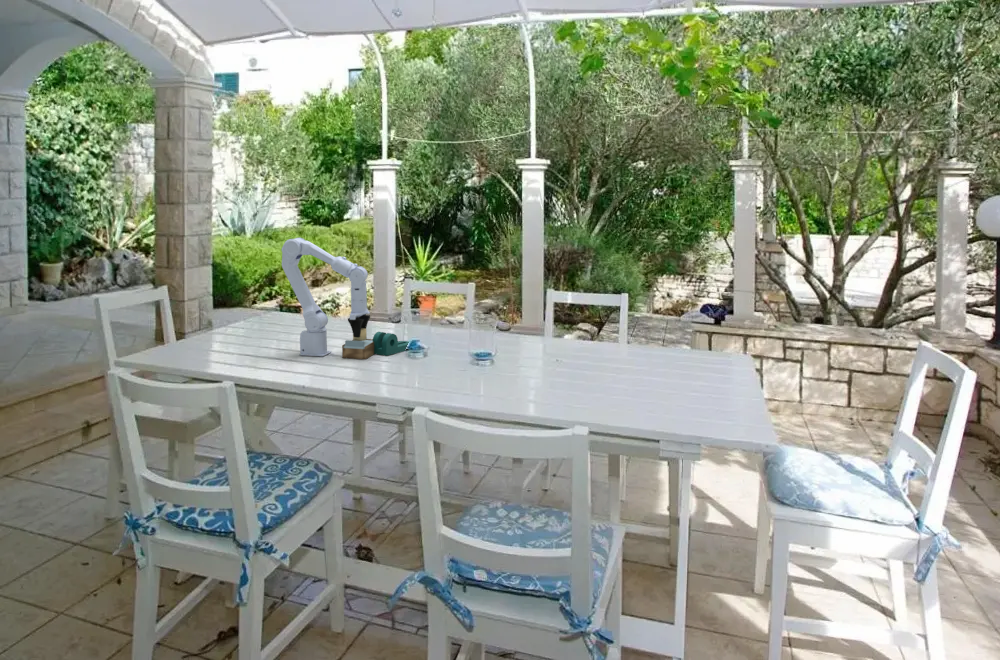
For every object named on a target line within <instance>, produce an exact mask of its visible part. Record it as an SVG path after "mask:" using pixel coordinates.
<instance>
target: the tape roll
mask: <svg viewBox="0 0 1000 660" xmlns="http://www.w3.org/2000/svg"><path fill="white" fill-rule="evenodd" d="M367 336H368V335H367V327H366V328H361V334H360V337H354V335H353V334H352V340H354V341H365V340H367V339H368V338H367Z"/></svg>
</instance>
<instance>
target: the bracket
mask: <svg viewBox="0 0 1000 660" xmlns="http://www.w3.org/2000/svg"><path fill="white" fill-rule="evenodd" d="M372 339H373V342H374V355H379V356H390V355H395V354H398V353H402V352H405V349H406V347H407V345H408V343H409V342H410V341H408V340H400V341H399V340H398V336H397V335H396V333H390V332H385V331H384V332H383V331H377V332H375V334H374V335H373V336H372Z"/></svg>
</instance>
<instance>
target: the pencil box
mask: <svg viewBox="0 0 1000 660" xmlns="http://www.w3.org/2000/svg"><path fill="white" fill-rule="evenodd" d="M352 340H353V339H352ZM367 340H373V338H367ZM353 341H354V340H353ZM341 346H342V348H341V349H342V350H341V351H342V352H341V353H342V354H341V355H342V359H348V360H349V359H350V360H351V359H353V360H367V359H369V358H370V357H372V356H374V355H375V354H374V342H372V343H370V344H368V345H367V346H365V349H353V348H344V346H345V343H344V344H342V345H341Z"/></svg>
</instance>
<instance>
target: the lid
mask: <svg viewBox="0 0 1000 660" xmlns="http://www.w3.org/2000/svg"><path fill="white" fill-rule="evenodd" d="M372 342H373V340H365V341H353V339H352V340H350V339H345V341H344V344H345V346H344V348H353V349H365V346H367V345H368V344H370V343H372Z"/></svg>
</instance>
